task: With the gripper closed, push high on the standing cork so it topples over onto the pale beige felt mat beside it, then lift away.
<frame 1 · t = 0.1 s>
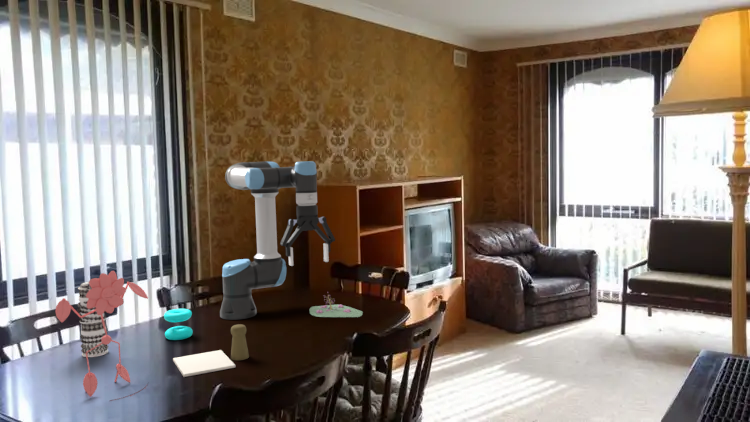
hand: (308, 263, 220), 28 cm above the table, fingers open, 13 cm apart
figurine: (113, 392, 177), on the table
donuts: (179, 337, 230), on the table
felt mat: (203, 363, 199), on the table
cork: (239, 358, 205), on the table
decorative candle: (95, 353, 213), on the table
plant: (337, 313, 262), on the table
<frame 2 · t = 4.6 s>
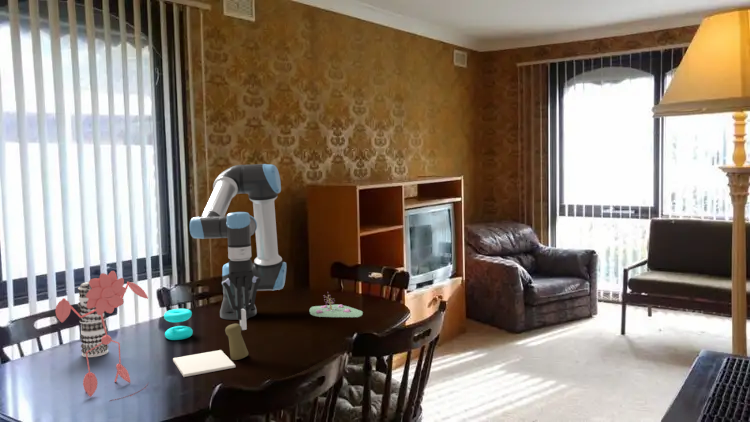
hand: (243, 328, 204), 10 cm above the table, fingers closed
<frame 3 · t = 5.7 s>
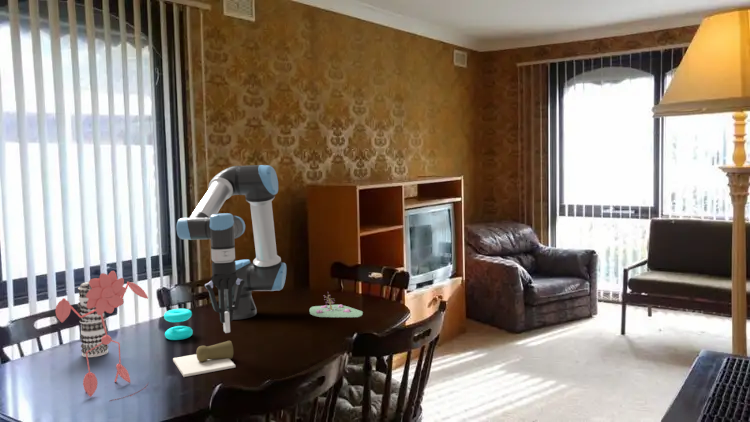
hand: (226, 331, 202), 9 cm above the table, fingers closed
cork: (230, 349, 204), point 3 cm above the table, touching felt mat
everything else where it was.
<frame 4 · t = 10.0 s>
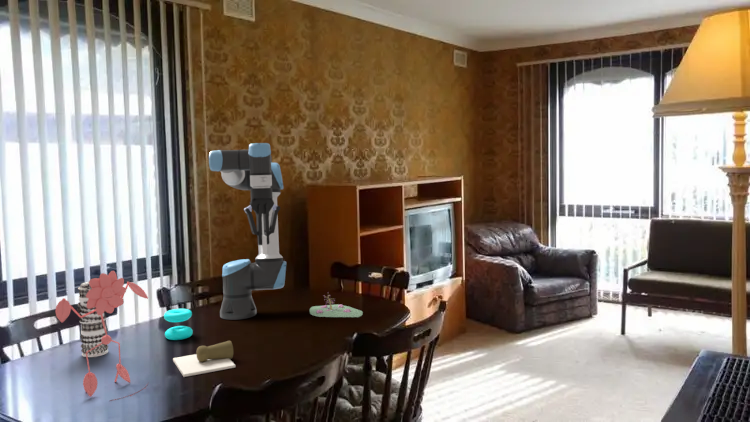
hand: (264, 253, 217), 32 cm above the table, fingers closed
nothing on the table moved.
at the end: cork tilted 87°; cork touching felt mat, table; the gripper is holding nothing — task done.
